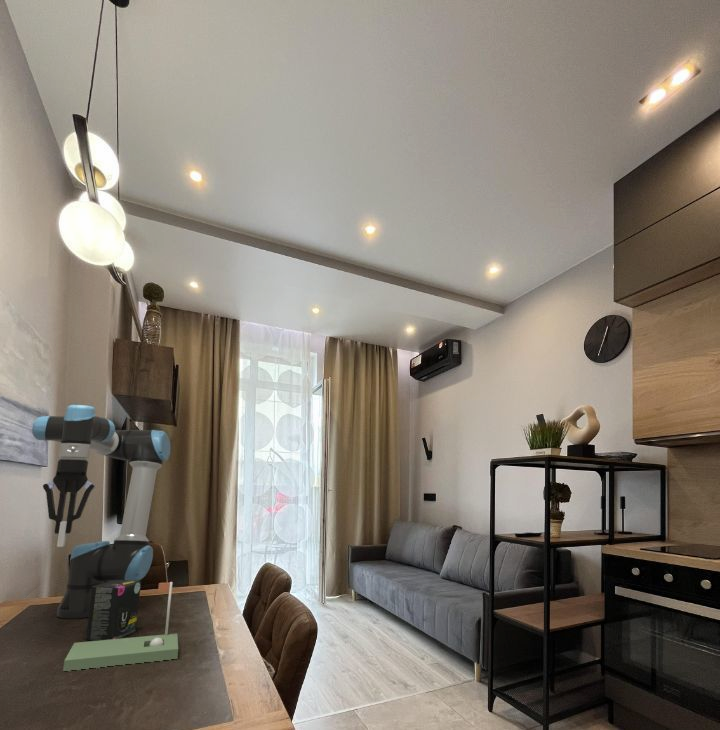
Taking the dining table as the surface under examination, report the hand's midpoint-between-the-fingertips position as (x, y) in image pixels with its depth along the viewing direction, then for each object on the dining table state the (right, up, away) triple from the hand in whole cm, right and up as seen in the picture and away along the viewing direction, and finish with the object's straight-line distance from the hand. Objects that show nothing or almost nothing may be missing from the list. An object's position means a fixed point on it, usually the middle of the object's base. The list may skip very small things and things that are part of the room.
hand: (60, 546), depth 134 cm
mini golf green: (+20, -27, -6) cm, 34 cm away
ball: (+28, -26, -3) cm, 38 cm away
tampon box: (+8, -31, +10) cm, 34 cm away
